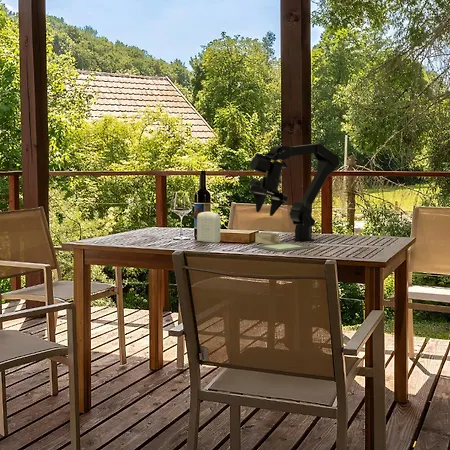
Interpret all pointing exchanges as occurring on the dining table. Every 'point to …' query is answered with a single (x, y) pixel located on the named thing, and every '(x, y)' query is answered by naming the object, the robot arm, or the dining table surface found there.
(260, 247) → the rubber mat
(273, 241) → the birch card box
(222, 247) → the dining table surface
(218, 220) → the soap bar
